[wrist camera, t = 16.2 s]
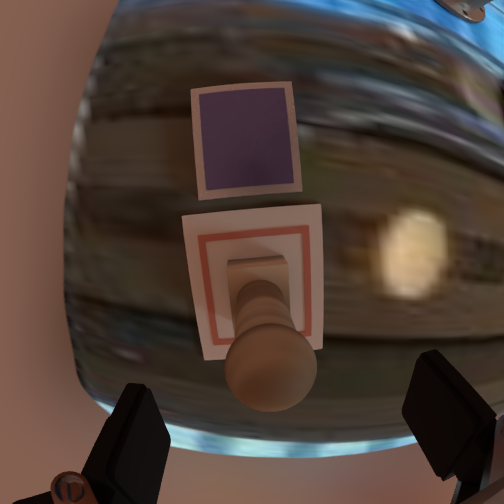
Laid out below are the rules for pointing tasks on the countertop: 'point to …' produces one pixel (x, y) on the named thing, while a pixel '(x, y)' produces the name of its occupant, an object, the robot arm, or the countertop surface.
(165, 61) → the countertop surface
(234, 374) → the stamp
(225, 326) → the note card
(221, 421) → the countertop surface
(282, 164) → the ink pad
